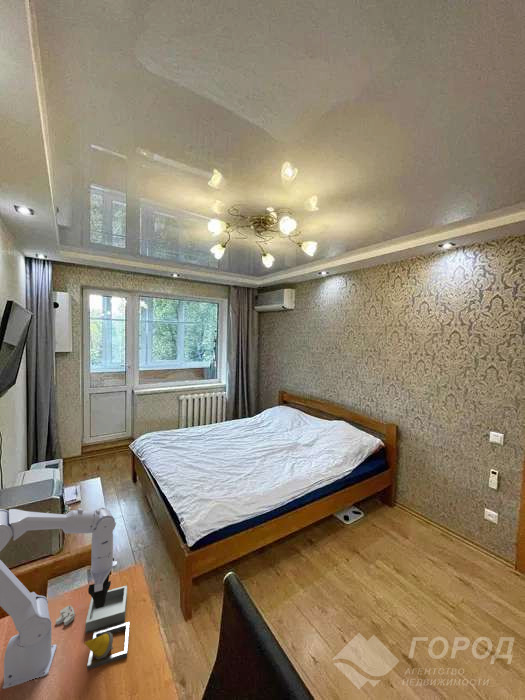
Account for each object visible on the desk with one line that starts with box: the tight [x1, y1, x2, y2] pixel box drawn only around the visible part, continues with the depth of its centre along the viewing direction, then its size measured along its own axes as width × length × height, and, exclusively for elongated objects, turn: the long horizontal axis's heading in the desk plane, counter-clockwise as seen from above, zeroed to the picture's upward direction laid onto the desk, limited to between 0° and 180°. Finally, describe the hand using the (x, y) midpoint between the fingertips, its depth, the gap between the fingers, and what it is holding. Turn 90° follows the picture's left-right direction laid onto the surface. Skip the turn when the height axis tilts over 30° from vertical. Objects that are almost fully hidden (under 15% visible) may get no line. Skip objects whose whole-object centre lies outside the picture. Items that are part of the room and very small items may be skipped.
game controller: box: [55, 603, 90, 626], centre depth 94 cm, size 6×12×3 cm, turn 155°
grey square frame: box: [86, 621, 130, 671], centre depth 83 cm, size 10×10×2 cm
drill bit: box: [84, 632, 114, 660], centre depth 80 cm, size 5×5×10 cm
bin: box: [84, 584, 128, 634], centre depth 93 cm, size 11×11×4 cm
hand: (101, 596), depth 88 cm, fingers open, 7 cm apart
